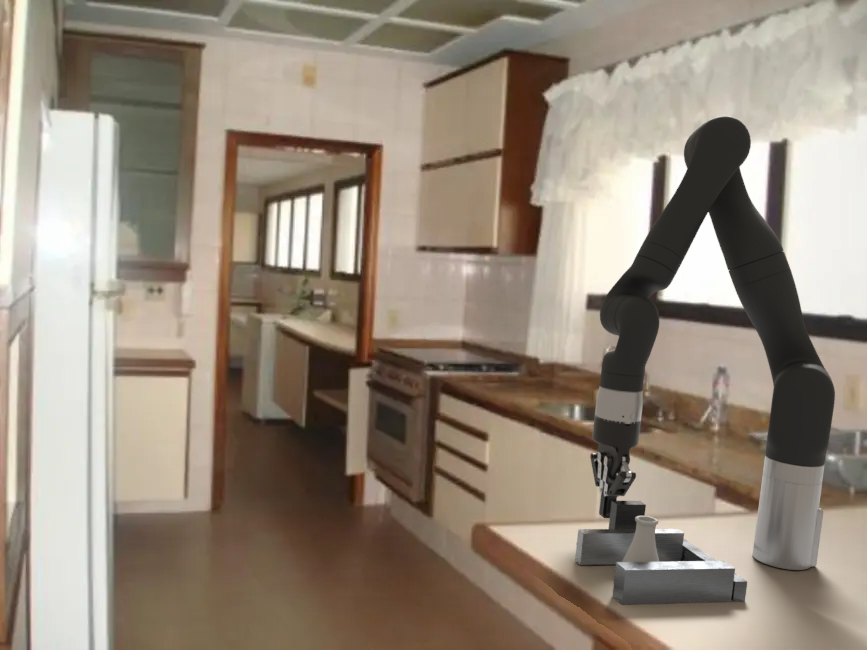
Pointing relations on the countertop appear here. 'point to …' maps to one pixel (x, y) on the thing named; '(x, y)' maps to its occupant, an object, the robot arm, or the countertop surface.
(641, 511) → the vise jaw sliding
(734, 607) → the countertop surface
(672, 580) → the vise fixed
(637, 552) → the flask
